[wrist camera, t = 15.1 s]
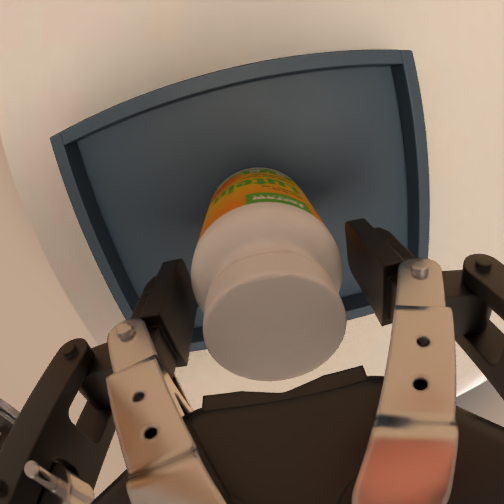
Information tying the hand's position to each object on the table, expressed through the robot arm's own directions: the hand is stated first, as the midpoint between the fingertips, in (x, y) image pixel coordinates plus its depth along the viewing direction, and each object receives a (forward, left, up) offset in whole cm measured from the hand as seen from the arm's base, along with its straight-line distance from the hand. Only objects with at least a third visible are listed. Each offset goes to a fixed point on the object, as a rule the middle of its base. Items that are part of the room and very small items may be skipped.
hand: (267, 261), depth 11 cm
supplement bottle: (0, 0, -6) cm, 6 cm away
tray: (0, 0, -6) cm, 6 cm away
